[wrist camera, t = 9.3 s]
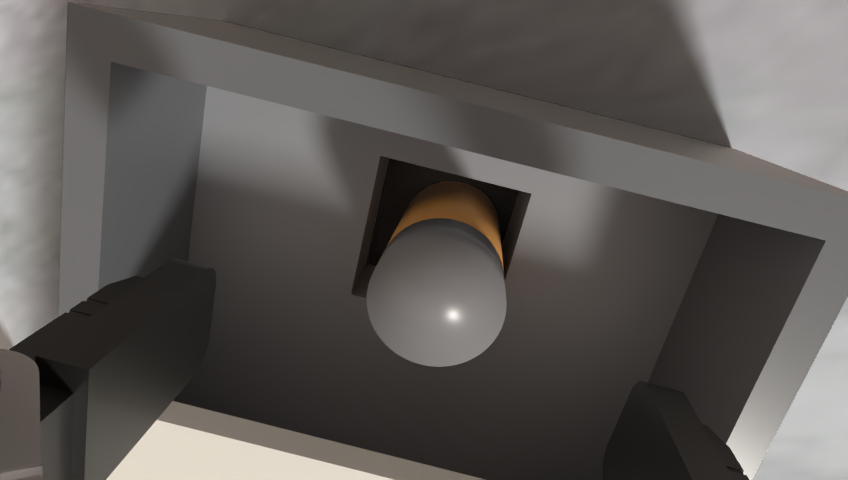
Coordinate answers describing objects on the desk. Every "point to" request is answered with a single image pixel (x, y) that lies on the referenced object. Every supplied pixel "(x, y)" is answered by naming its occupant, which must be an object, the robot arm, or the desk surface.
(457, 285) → the peg
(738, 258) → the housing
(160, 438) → the lid
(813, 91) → the desk surface
